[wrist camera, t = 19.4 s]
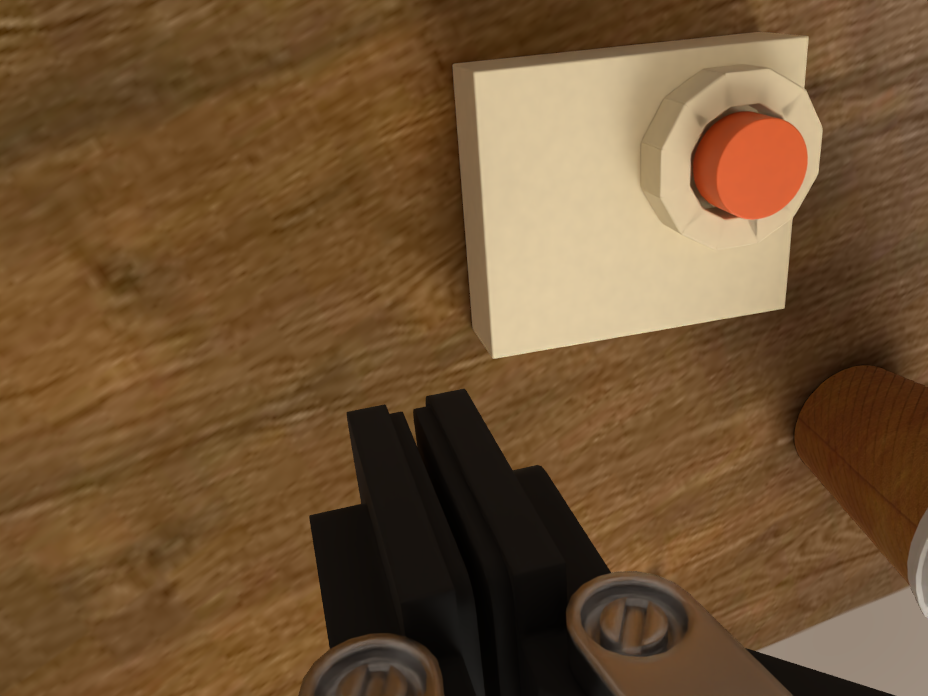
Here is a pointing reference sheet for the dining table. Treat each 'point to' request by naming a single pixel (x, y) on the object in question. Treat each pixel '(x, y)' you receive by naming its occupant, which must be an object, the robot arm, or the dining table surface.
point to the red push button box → (618, 188)
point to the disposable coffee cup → (874, 461)
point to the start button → (750, 164)
